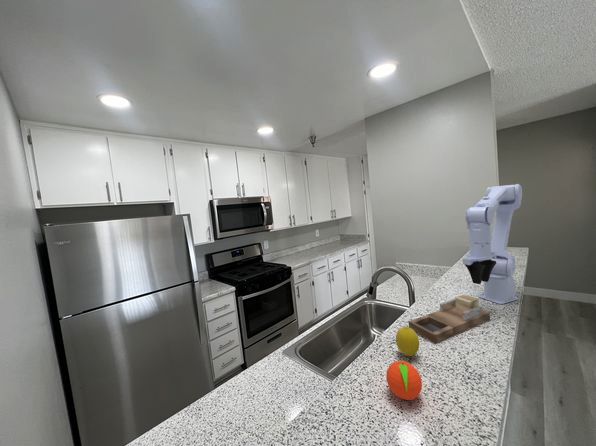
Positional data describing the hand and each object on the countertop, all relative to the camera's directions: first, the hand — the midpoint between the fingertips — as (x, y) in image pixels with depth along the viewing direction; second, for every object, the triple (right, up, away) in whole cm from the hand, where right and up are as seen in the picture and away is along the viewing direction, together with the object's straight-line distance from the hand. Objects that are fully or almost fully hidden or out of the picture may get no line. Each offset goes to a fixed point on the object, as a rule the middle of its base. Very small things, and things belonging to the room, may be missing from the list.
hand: (480, 282), depth 79 cm
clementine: (-39, -17, -30) cm, 52 cm away
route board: (-14, -12, -5) cm, 19 cm away
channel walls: (-9, -9, -3) cm, 13 cm away
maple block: (-6, -9, -2) cm, 11 cm away
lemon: (-33, -15, -17) cm, 40 cm away
